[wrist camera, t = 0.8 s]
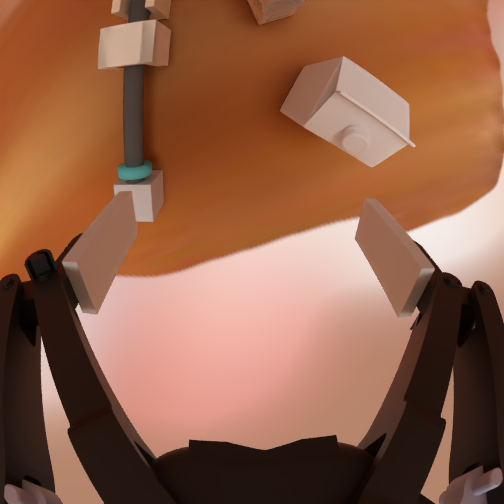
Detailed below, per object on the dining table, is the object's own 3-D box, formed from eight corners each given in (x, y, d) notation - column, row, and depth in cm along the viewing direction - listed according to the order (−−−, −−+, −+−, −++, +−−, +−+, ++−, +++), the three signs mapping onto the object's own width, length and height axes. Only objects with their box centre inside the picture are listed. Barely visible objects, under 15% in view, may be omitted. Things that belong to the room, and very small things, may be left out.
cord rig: (135, 4, 23) (114, -9, 17) (171, -1, 23) (157, -16, 17) (132, 202, 39) (115, 224, 33) (164, 202, 39) (151, 225, 33)
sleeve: (123, 35, 24) (100, 28, 19) (171, 30, 25) (156, 19, 19) (121, 70, 27) (97, 69, 22) (168, 65, 28) (152, 62, 22)
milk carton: (303, 65, 29) (364, 51, 14) (349, 93, 31) (436, 110, 15) (278, 110, 33) (315, 136, 17) (325, 135, 35) (392, 184, 19)
